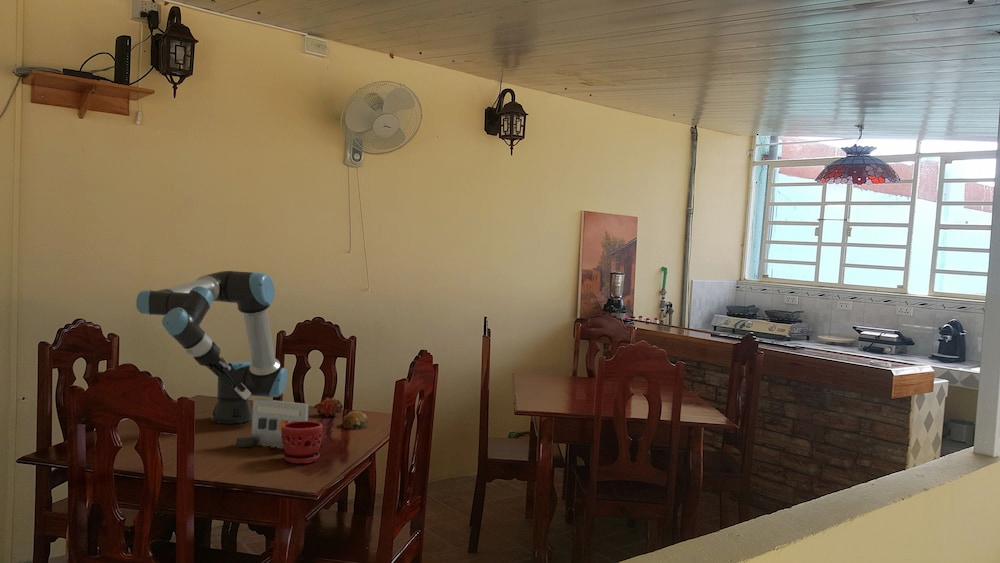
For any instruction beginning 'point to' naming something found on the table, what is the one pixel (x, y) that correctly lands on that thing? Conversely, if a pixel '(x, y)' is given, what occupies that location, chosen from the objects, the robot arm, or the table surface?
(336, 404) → the dragon fruit
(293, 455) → the plant pot
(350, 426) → the bread roll
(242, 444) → the cord coil
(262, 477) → the table surface
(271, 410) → the breaker panel
